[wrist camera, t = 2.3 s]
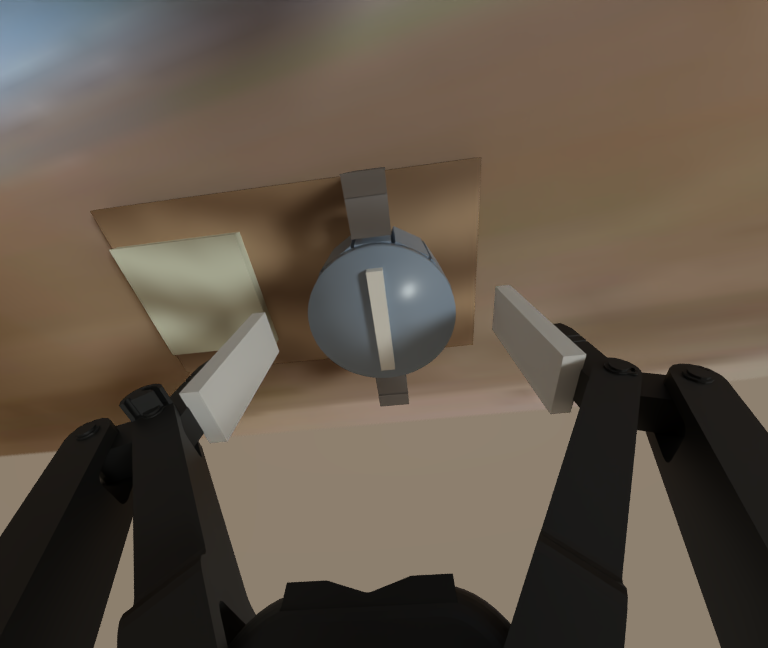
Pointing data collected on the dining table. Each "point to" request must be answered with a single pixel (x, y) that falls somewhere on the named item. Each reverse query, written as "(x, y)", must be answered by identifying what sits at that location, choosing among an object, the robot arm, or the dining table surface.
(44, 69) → the dining table surface
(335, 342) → the cap
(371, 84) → the dining table surface
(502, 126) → the dining table surface
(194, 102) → the dining table surface
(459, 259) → the base
